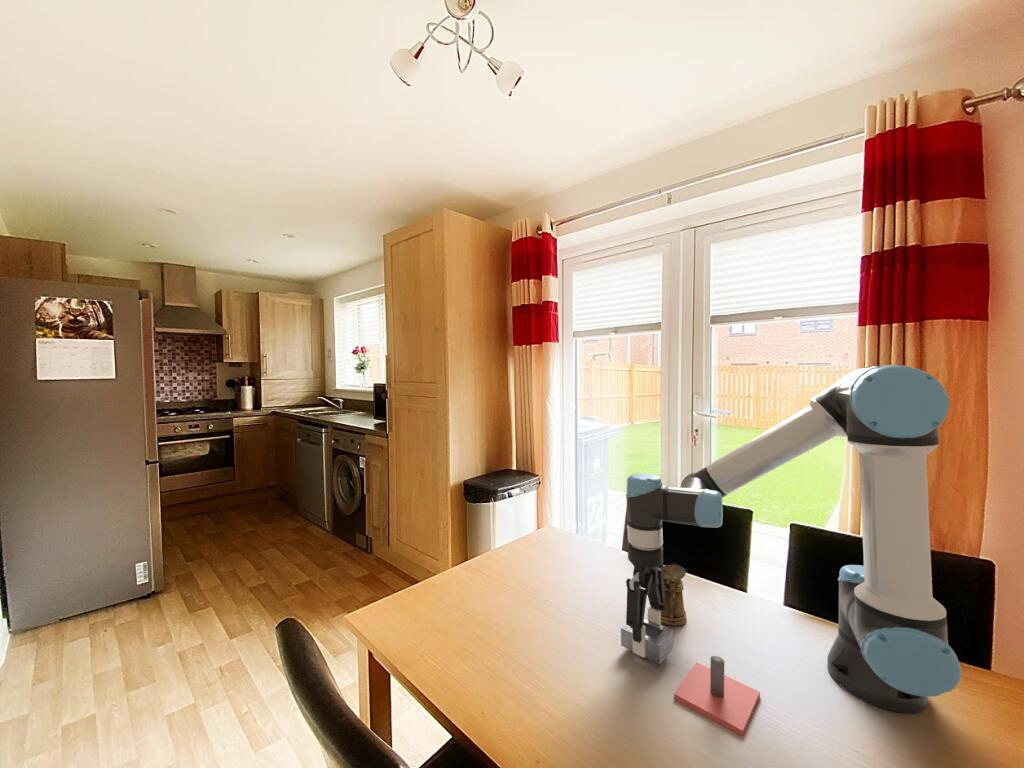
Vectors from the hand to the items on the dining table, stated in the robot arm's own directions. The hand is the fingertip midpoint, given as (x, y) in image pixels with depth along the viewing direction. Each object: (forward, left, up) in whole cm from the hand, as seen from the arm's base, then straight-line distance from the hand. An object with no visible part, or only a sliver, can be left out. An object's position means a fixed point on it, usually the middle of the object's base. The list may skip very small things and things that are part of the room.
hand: (647, 645), depth 92 cm
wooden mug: (+2, -16, -2) cm, 16 cm away
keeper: (-15, +2, -2) cm, 16 cm away
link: (0, 0, 0) cm, 0 cm away
